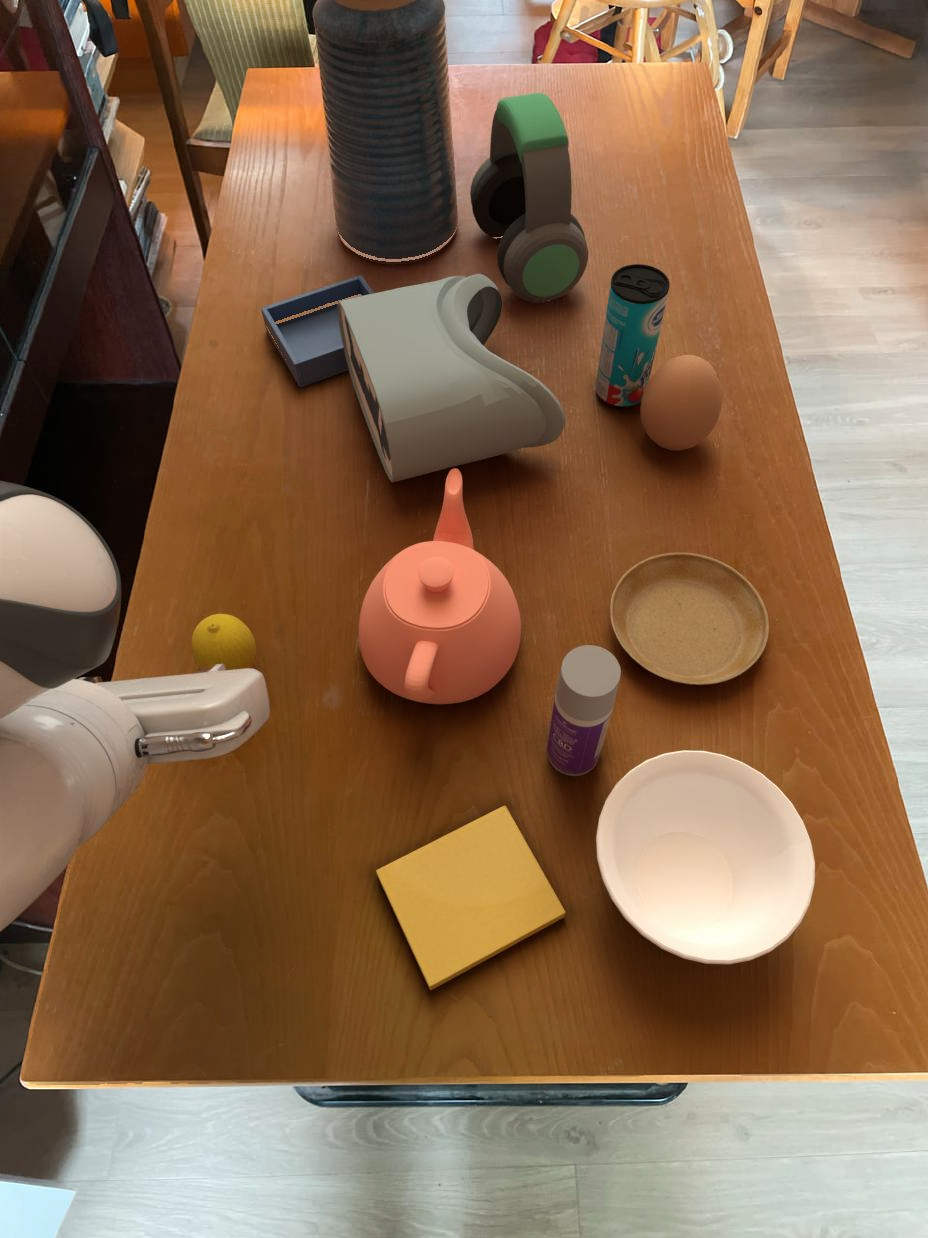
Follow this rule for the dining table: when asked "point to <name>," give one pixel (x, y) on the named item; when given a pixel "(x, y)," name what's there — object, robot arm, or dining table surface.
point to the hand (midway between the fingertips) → (155, 680)
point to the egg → (681, 403)
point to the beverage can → (630, 334)
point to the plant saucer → (689, 618)
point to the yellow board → (469, 896)
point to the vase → (388, 124)
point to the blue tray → (312, 330)
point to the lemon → (223, 643)
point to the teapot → (440, 615)
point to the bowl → (705, 857)
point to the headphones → (530, 200)
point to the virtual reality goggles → (440, 377)
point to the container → (582, 709)
